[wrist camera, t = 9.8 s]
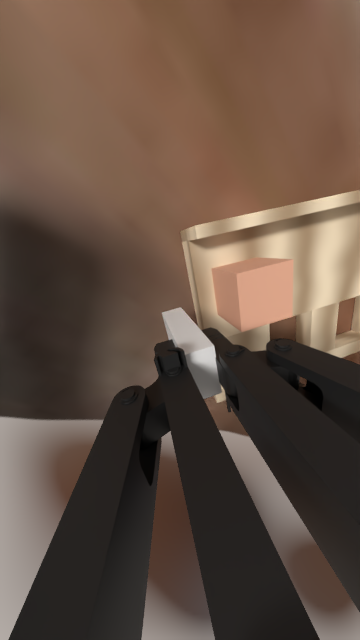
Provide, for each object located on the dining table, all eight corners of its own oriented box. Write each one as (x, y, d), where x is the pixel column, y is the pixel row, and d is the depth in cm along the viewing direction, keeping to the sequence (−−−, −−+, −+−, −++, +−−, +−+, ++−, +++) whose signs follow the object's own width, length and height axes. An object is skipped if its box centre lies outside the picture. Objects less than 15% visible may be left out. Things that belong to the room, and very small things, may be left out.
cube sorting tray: (210, 390, 28) (226, 417, 23) (180, 231, 20) (194, 225, 15) (384, 329, 32) (426, 341, 28) (415, 179, 24) (481, 163, 20)
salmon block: (217, 314, 21) (241, 332, 17) (211, 268, 19) (236, 273, 15) (258, 302, 22) (292, 316, 17) (256, 257, 20) (293, 259, 16)
